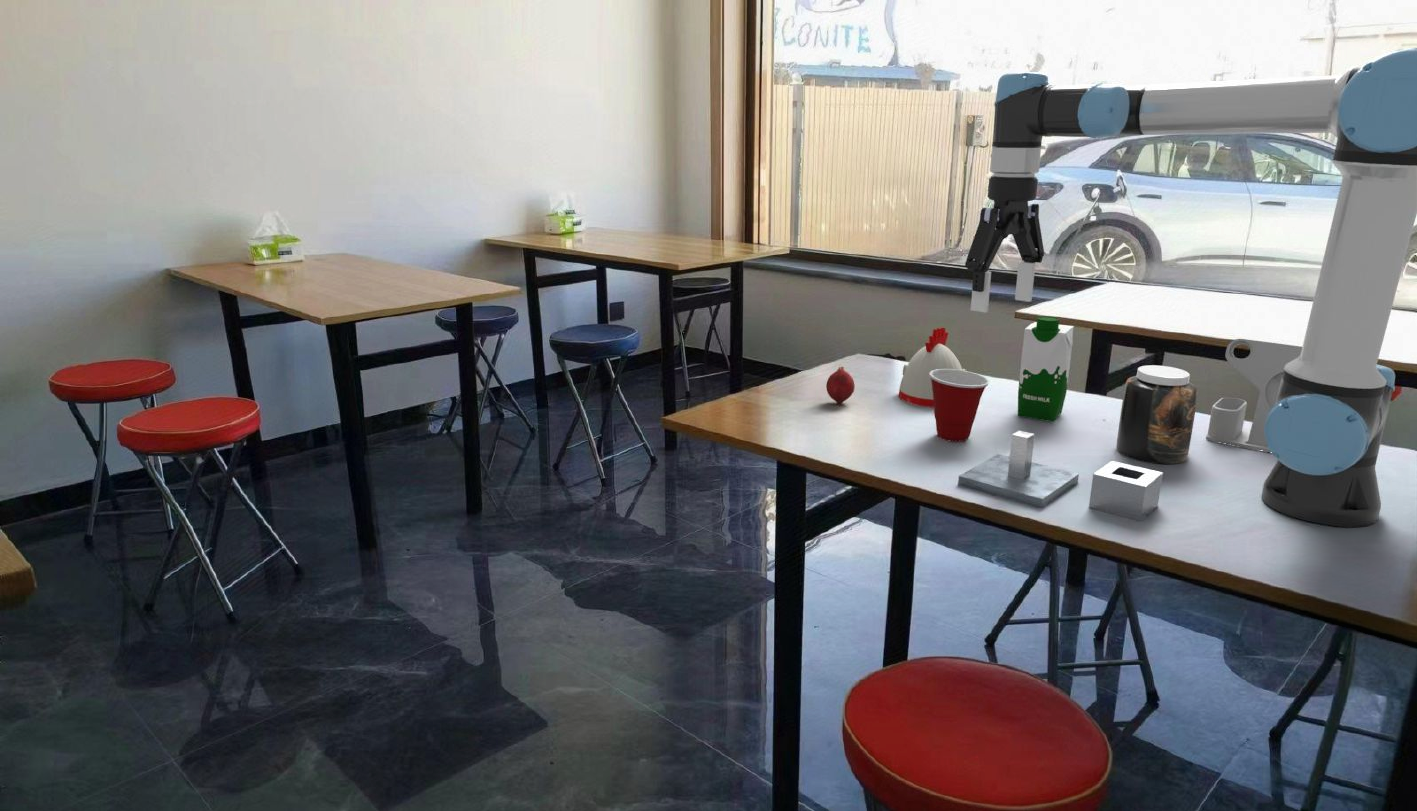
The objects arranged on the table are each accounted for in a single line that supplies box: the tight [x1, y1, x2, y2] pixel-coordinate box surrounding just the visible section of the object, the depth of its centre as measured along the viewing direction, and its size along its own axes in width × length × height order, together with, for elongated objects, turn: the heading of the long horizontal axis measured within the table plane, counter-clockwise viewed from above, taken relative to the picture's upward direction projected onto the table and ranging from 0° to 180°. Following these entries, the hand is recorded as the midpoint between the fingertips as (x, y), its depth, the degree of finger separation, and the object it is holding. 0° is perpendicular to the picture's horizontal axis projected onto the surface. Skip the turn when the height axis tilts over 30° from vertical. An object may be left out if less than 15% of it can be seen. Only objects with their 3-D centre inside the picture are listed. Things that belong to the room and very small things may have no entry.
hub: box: [1088, 460, 1164, 522], centre depth 140 cm, size 8×8×6 cm
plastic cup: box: [929, 369, 991, 442], centre depth 171 cm, size 11×11×12 cm
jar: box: [1116, 364, 1198, 465], centre depth 162 cm, size 12×12×15 cm
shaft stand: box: [957, 430, 1080, 509], centre depth 149 cm, size 14×14×8 cm
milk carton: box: [1017, 316, 1075, 423], centre depth 182 cm, size 9×9×20 cm
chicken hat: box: [898, 327, 967, 408], centre depth 195 cm, size 14×14×15 cm
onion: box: [825, 365, 855, 404], centre depth 191 cm, size 6×6×8 cm
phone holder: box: [1205, 338, 1303, 452], centre depth 166 cm, size 17×10×18 cm, turn 49°
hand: (1001, 305), depth 154 cm, fingers open, 13 cm apart
